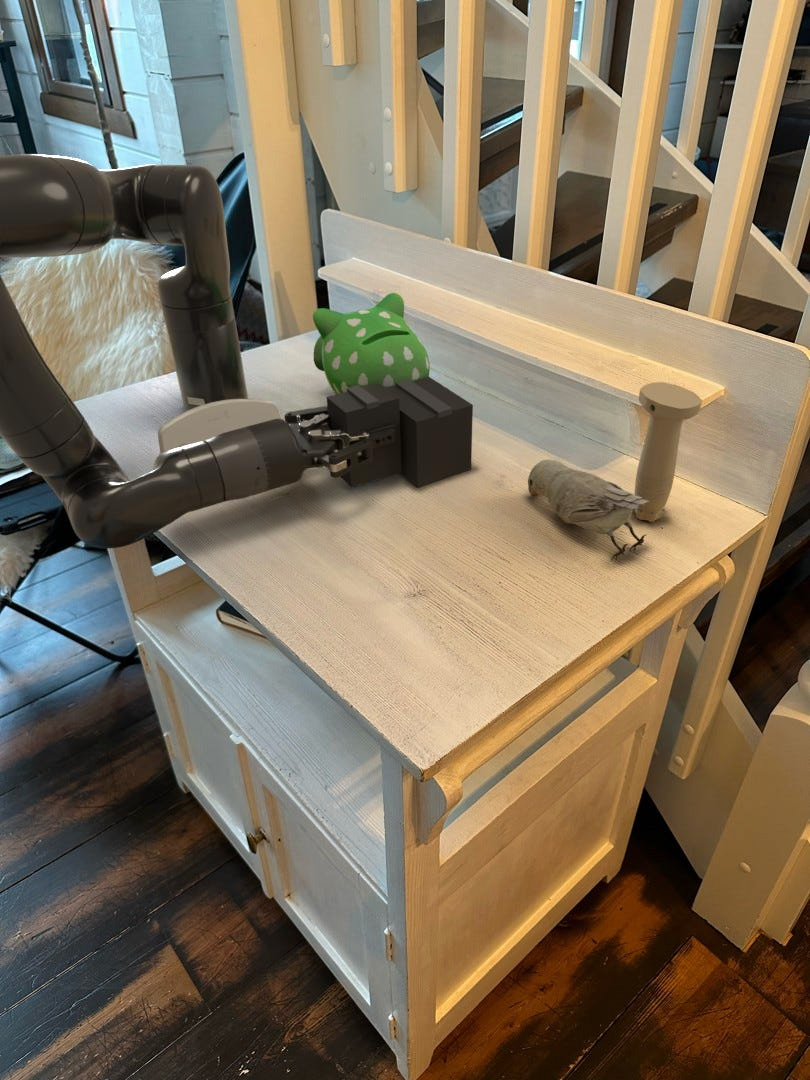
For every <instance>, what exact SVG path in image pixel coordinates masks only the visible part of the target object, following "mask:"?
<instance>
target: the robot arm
mask: <svg viewBox="0 0 810 1080" xmlns="http://www.w3.org/2000/svg"><path fill="white" fill-rule="evenodd" d="M226 227H227V226H226V217H225V210H224V202H223V197H222V193H221V189H220V187H219V184H218V181H217V180H216V178H215V176H214V174H213V173H212V172H211V171H210V170H209V169H208V168H206V167H204V166H201V165H191V164H159V163H158V164H156V163H155V164H154V163H153V164H144V165H137V166H131V167H126V168H125V167H124V168H117V169H99V168H98V167H96V166H95V165H93V164H91V163H89V162H87V161H84V160H81V159H79V158H74V157H73V158H72V157H68V156H60V155H48V154H36V153H21V154H19V153H18V154H9V155H0V258H51V257H52V258H53V257H54V258H55V257H63V256H64V257H66V256H75V255H84V254H88V253H93V252H95V251H98V250H100V249H102V248H104V247H105V246H107V244H108V243H109V242H110V241H111V240H124V241H125V240H126V241H134V242H141V243H147V244H152V245H160V246H161V245H162V246H176V247H184V252H185V265H183V266H181V267H178V268H175V269H172V270H170V271H168V272H166V273H164V274H163V275H162V276H160V277H159V279H158V280H157V285H156V286H157V292H158V293H157V294H158V297H159V302H160V306H161V311H162V316H163V319H164V324H165V328H166V332H167V337H168V343H169V347H170V350H171V351H170V352H171V356H172V359H173V364H174V369H175V373H176V378H177V382H178V386H179V393H180V397H181V401H182V406H183V409H184V410H183V413H184V412H186V411H188V410H190V409H193V408H196V407H198V406H201V405H204V404H208V403H212V402H216V401H222V400H230V399H249V393H248V389H247V381H246V376H245V369H244V363H243V358H242V353H241V345H240V340H239V334H238V329H237V327H238V326H237V322H236V316H235V310H234V304H233V299H232V292H231V285H230V284H231V283H230V280H231V279H230V278H231V277H230V275H231V263H230V254H229V246H228V245H229V244H228V238H227V228H226ZM69 395H70V394H68V392H67V391H66V389H65V388H64V387H63V385H62V384H61V383H60V381H59V380H58V378H57V377H56V375H55V373H53V371H52V369H51V368H50V366H49V365H48V363H47V362H46V360H45V359H44V357H43V355H42V353H41V352H40V350H39V349H38V347H37V346H36V343H35V341H34V339H33V338H32V336H31V335H30V332H29V330H28V329H27V326H26V325H25V322H24V320H23V318H22V316H21V314H20V312H19V310H18V308H17V306H16V304H15V302H14V300H13V297H12V296H11V294H10V291H9V289H8V287H7V285H6V283H5V280H4V279H3V277H2V275H1V274H0V436H1V438H2V439H3V440H4V442H5V443H6V444H7V445H8V446H9V448H10V449H11V450H12V451H13V452H14V454H15V455H16V456H17V458H19V460H20V461H21V462H22V463H23V464H24V465H25V466H26V467H27V468H28V469H29V470H30V471H32V472H33V473H34V474H36V475H39V476H41V477H42V478H43V480H44V481H45V482H46V483H47V484H48V486H49V487H50V488H51V490H52V491H53V492H54V494H55V495H56V496H57V498H58V499H59V501H60V502H61V504H62V506H63V508H64V510H65V513H66V514H67V518H68V520H69V522H70V525H71V527H72V529H73V532H74V534H75V535H76V536H77V538H78V539H79V540H80V541H81V542H83V543H84V544H86V545H88V546H90V547H92V548H96V549H107V550H109V549H117V548H122V547H123V548H124V547H126V546H130V545H132V544H133V545H134V544H135V543H137V542H140V541H142V540H144V539H145V538H148V537H149V536H151V535H152V534H155V533H156V532H158V531H160V530H161V529H163V528H165V527H167V526H168V525H170V524H173V522H175V521H177V520H178V519H180V518H181V517H183V516H184V515H186V514H188V513H191V512H196V511H199V510H201V509H205V508H209V507H212V506H215V505H218V504H221V503H226V502H230V501H236V500H241V499H246V498H250V497H253V496H256V495H259V494H262V493H265V492H268V491H269V492H270V491H272V490H275V489H278V488H281V487H285V486H288V485H291V484H295V483H297V482H299V481H300V480H301V478H302V476H303V474H304V472H305V471H306V470H307V469H315V468H317V469H318V468H323V467H324V468H326V469H327V470H329V477H330V478H333V479H336V478H337V479H338V478H340V476H342V475H344V474H347V473H349V472H351V471H353V470H355V469H357V468H359V467H361V466H363V465H365V464H367V463H369V462H371V461H373V454H372V449H374V448H376V447H380V446H383V445H386V444H390V443H393V442H395V441H396V440H397V427H396V426H395V425H394V424H393V423H390V424H386V425H383V426H379V427H376V428H372V429H369V430H366V431H360V432H356V433H352V434H349V433H348V432H347V431H346V430H345V429H341V430H331V424H330V416H328V408H327V405H324V406H318V407H317V406H316V407H311V408H305V409H299V410H293V411H287V412H284V413H283V416H284V419H283V418H282V419H279V418H277V419H273V420H269V421H266V422H262V423H258V424H255V425H251V426H247V427H244V428H240V429H236V430H232V431H229V432H225V433H222V434H219V435H217V436H215V437H212V438H210V439H207V440H204V441H200V442H197V443H193V444H189V445H186V446H182V447H178V448H175V449H172V450H169V451H166V452H163V453H159V454H158V455H157V456H156V457H155V459H154V461H153V465H152V466H153V468H152V470H151V471H149V472H147V473H145V474H143V475H140V476H138V477H136V478H133V479H131V480H130V479H129V477H128V476H127V474H126V473H125V471H124V470H123V468H122V467H121V466H120V464H119V463H118V462H117V460H116V459H115V458H114V456H113V455H112V454H111V453H110V452H109V450H108V449H107V448H106V447H105V446H104V445H103V443H102V442H101V441H100V440H99V438H97V437H96V435H94V432H93V430H92V428H91V426H90V425H89V423H88V421H87V420H86V418H85V417H84V415H83V414H82V411H80V410H79V408H78V406H77V405H76V404H75V403H74V401H73V399H72V398H71V397H70V396H69ZM338 439H342V443H343V449H341V450H339V440H338ZM355 440H359V442H356V443H354V444H352V445H350V441H355ZM358 455H362V456H360V457H358Z"/></svg>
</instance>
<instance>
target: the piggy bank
mask: <svg viewBox="0 0 810 1080" xmlns="http://www.w3.org/2000/svg"><path fill="white" fill-rule="evenodd" d="M404 314H405V301H404V299H403V297H402V295H400V294H399V293H396V292H391V293H388V294H386V295H385V296H384V297H383V298H382V299H381V300H379V302H377V303H376V304H375V305H374V306H373V307H368V308H364V309H359V310H355V311H351V312H346V313H343V312H339V311H336V310H332V309H329V308H324V307H322V308H317V309H316V310H314V311H313V313H312V321H313V324H314V326H315V327H316V330H317V331H318V334H319V337H318V338H317V340H316V341H315V344H314V347H313V362H314V365H315V367H316V368H317V369H318V370H319V371H321V372H324V375H325V377H326V380H327V383H328V385H329V387H330V388H331V390H332V391H333V392H334V395H336V394H340V393H343V392H347V388H350V387H353V386H357V385H359V386H360V387H361V388H362V387H366V386H370V385H374V384H378V383H379V384H380V385H382V386H383V387H384V388H389V387H393V386H395V383H396V382H400V381H403V380H407V379H409V380H411V381H414V380H418V379H422V378H425V377H430V370H431V369H430V367H431V366H430V363H431V362H430V358H429V355H428V352H427V349H426V347H425V346H424V344H423V342H422V341H421V339H420V338H419V337H418V336H417V335H416V334H415V332H414V331H413V330H412V329H411V327H410V326H409V324H407V322H406V321H405V319H404Z"/></svg>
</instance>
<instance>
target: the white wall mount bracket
mask: <svg viewBox="0 0 810 1080" xmlns="http://www.w3.org/2000/svg"><path fill="white" fill-rule="evenodd" d="M277 418H279V419H283V418H282V415H281V413H280V410H279V408H278V405H276V404H275V403H274V402H272V401H271V400H263V399H257V398H248V399H230V400H222V401H216V402H212V403H208V404H204V405H201V406H198V407H196V408H193V409H190V410H188V411H186V412H184V411H183V412H182V413H180V414H178V415H176V416H174V417H172V418H171V419H169V420H168V421H166V422H165V423H163V424H162V425H161V426H160V427H159V428H158V431H157V439H158V445H159V454H161V453H163V452H166V451H169V450H172V449H175V448H178V447H182V446H186V445H189V444H193V443H197V442H200V441H204V440H207V439H210V438H212V437H215V436H217V435H219V434H222V433H225V432H229V431H232V430H236V429H240V428H244V427H247V426H251V425H255V424H258V423H262V422H266V421H269V420H273V419H277Z"/></svg>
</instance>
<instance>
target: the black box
mask: <svg viewBox="0 0 810 1080" xmlns="http://www.w3.org/2000/svg"><path fill="white" fill-rule="evenodd" d="M326 406H327V408H328V416H330V424H331V430H341V429H345V430H346V431H347V432H348V433H349V434H352V433H356V432H360V431H366V430H369V429H372V428H376V427H379V426H383V425H386V424H390V423H393V424H394V425H395V426H396V427H397V440H396V441H395V442H393V443H390V444H386V445H383V446H380V447H376V448H374V449H372V454H373V461H371V462H369V463H367V464H365V465H363V466H361V467H359V468H357V469H355V470H353V471H351V472H349V473H347V474H344V475H342V476H340V477H339V478H340V479H341V480H343V482H344V483H345V484H346V485H348V487H349V488H351V489H354V488H357V487H359V486H363V485H366V484H369V483H372V482H375V481H379V480H382V479H384V478H387V477H391V476H395V475H397V474H401V473H400V472H401V441H400V408H399V398H398V397H397V396H396V395H394V394H393V393H391V392H390V391H389V390H387V389H386V388H384V387H383V386H382V385H380V384H379V383H378V384H374V385H370V386H366V387H362V388H361V387H360V386H359V385H357V386H353V387H350V388H347V392H343V393H340V394H336V395H335V394H333V395H329V396H326ZM338 440H339V450H341V449H343V443H342V439H338ZM356 442H359V440H355V441H350V445H352V444H354V443H356ZM360 456H362V455H358V457H360Z"/></svg>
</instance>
